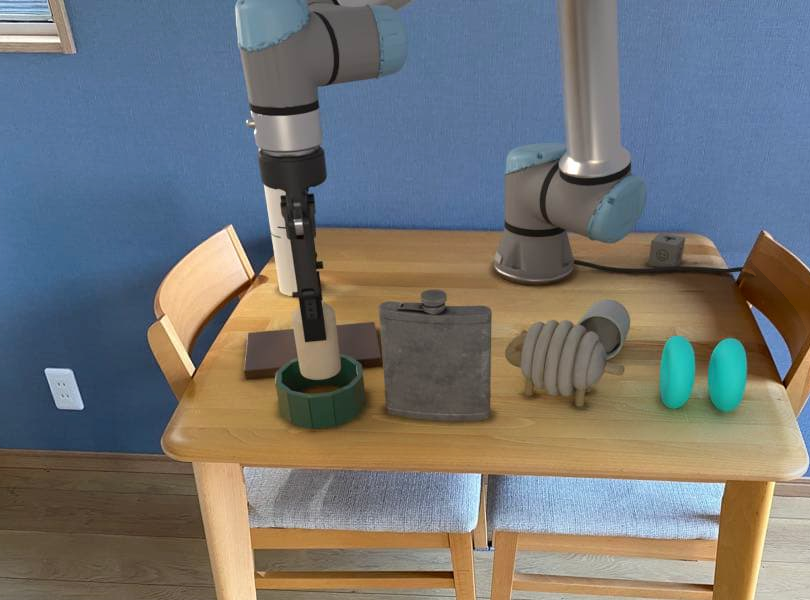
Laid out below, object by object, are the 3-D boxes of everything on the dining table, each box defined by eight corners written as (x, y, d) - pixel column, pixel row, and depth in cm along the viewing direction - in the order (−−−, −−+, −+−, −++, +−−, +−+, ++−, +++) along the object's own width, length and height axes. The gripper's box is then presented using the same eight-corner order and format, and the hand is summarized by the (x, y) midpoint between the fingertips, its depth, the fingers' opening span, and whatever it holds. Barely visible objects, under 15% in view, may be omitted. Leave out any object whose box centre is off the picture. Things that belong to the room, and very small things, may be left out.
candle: (307, 384, 99) (296, 316, 94) (295, 365, 103) (284, 298, 98) (346, 374, 101) (339, 306, 96) (333, 356, 105) (325, 290, 100)
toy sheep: (513, 366, 114) (516, 299, 108) (625, 385, 110) (635, 316, 103) (493, 403, 105) (494, 332, 99) (614, 424, 101) (623, 352, 95)
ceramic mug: (629, 341, 121) (634, 297, 117) (620, 365, 114) (625, 319, 110) (565, 331, 124) (567, 288, 120) (552, 354, 117) (554, 309, 113)
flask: (488, 424, 101) (490, 302, 91) (383, 417, 102) (373, 296, 92) (490, 409, 104) (492, 289, 94) (388, 403, 105) (380, 284, 96)
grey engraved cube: (681, 261, 148) (685, 237, 145) (673, 270, 145) (677, 245, 142) (657, 256, 150) (660, 232, 148) (648, 265, 147) (651, 240, 144)
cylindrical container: (310, 297, 134) (292, 154, 120) (273, 294, 135) (250, 151, 121) (325, 281, 140) (309, 143, 126) (289, 278, 141) (269, 140, 127)
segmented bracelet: (362, 378, 111) (359, 349, 108) (368, 423, 101) (365, 391, 99) (281, 386, 109) (276, 356, 106) (280, 432, 99) (274, 400, 97)
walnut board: (374, 329, 124) (374, 321, 123) (381, 366, 114) (381, 357, 113) (249, 340, 120) (247, 332, 120) (245, 379, 111) (243, 370, 110)
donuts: (655, 383, 110) (665, 322, 105) (726, 387, 109) (739, 325, 104) (663, 422, 102) (673, 357, 96) (739, 426, 101) (754, 361, 95)
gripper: (259, 129, 93) (286, 300, 106) (252, 173, 78) (285, 367, 91) (321, 126, 94) (340, 295, 107) (326, 169, 79) (348, 360, 92)
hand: (315, 328), depth 99 cm, fingers closed on candle, 5 cm apart
